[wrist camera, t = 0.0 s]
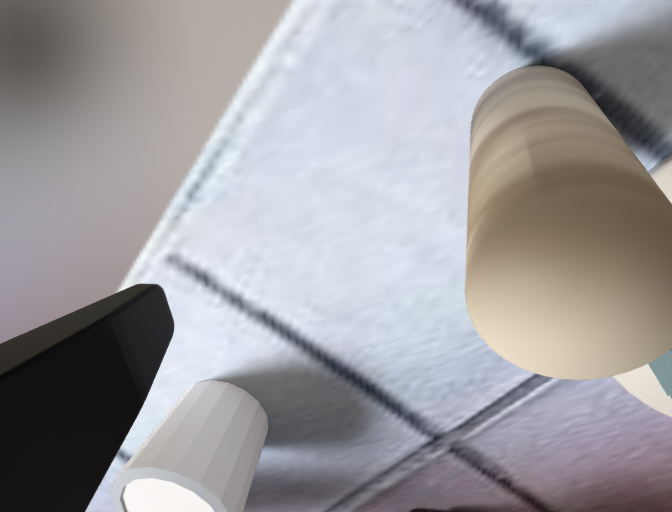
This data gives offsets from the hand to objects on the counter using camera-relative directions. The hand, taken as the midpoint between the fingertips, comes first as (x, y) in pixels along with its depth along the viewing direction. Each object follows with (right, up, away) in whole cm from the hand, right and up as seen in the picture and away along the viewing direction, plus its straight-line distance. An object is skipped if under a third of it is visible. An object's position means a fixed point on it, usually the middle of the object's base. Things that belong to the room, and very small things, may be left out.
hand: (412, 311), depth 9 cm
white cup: (-8, -9, +25) cm, 28 cm away
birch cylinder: (+6, +6, +12) cm, 15 cm away
